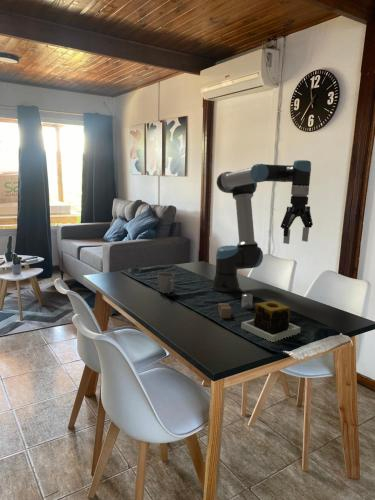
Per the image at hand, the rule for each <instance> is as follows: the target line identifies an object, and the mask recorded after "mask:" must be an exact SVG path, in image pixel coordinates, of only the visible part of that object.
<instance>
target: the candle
mask: <svg viewBox="0 0 375 500" xmlns="http://www.w3.org/2000/svg"><path fill="white" fill-rule="evenodd" d="M290 309H291V307H290V306H288V305H285V304H282V303H280V302H279V301H275V300H269V301H263V302H258V303H257V302H256V303H255V311H254V318H253V319H254V327H256V328H258V329H261V330H263V331H265V332H267V333H269V334H272V335H273V334H277V333H280V332H283V331H286V330H288V327H289V323H290V314H289V313H290V311H291V310H290Z"/></svg>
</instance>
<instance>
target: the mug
mask: <svg viewBox="0 0 375 500" xmlns="http://www.w3.org/2000/svg"><path fill="white" fill-rule="evenodd" d="M157 285H158V288H159V291H160V293H161V292H162V293H161V294H164V293H168V292H172V291H173V290H174V287H175V273H173V272H166V271H165V272H164V271H163V272H159V273H157ZM168 294H169V293H168Z"/></svg>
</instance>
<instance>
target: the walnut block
mask: <svg viewBox="0 0 375 500" xmlns="http://www.w3.org/2000/svg"><path fill="white" fill-rule="evenodd" d="M217 311H218V312H219V313H218V312H217V313H218V314H219V316H220V319H232V307H231V305H230V304H229V303H228V302H223V303H222V302H218V308H217Z"/></svg>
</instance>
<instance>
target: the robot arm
mask: <svg viewBox="0 0 375 500" xmlns="http://www.w3.org/2000/svg"><path fill="white" fill-rule="evenodd" d="M311 172H312V162H311V160H306V159H305V160H304V159H302V160H301V159H298V160H297V159H296V160H295V161H293V165H292V164H291V165H288V164H287V165H285V164H283V165H282V164H267V163H266V164H263V163H256V164H253V165H252V166H251V167H248V168H245V169H240V170H236V171H224V172H222V173H220V174H219V175H218V176H217V178H216V185H217V188H218V190H219V191H221V192H222V193H226V194H232V198H233V199H234V200H235V207H236V220H237V221H236V222H237V230H238V231H237V234H238V243H237V244H236V245H232V244H231V245H222V246H219V247H218V248H217V250H216V254H215V274H214V277H213V281H212V283H211V289H212V288H213V289H212V290H214V291H216V292H220V291H221V293H235V292H238V291H239V290H240V283H239V279H238V270H245V269H246V270H247V269H255V268H258V267H260V265H261V264H262V263H263V258H264V253H263V250H262V248H261V247H260V246H259V245H258V242H256V240H255V232H254V231H255V229H254V220H253V209H252V208H253V206H252V199H253V197H254V193H255V192H257V188H258V183H263V182H279V183H288V182H289V183H291V190H290V191H291V192H290V195H291V196H290V204H291V206H286V211H285V213H284V217H283V219H282V220H281V224H280V228H281V229H283V244H287V245H289V244H290V236H291V229H290V228H291V226H292V225H293V223H294V221H295V220H296V219H297V218H298V217H299V218H300V221H301V222H302V224H303V227H302V234H301V235H302V236H301V241H302V242H305V243H306V242H308V241H309V233H310V228H312V226H313V224H314V223H313V220H312V215H311V214H312V213H311V206H308V204H309V194H310V193H309V191H310V182H311Z"/></svg>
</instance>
